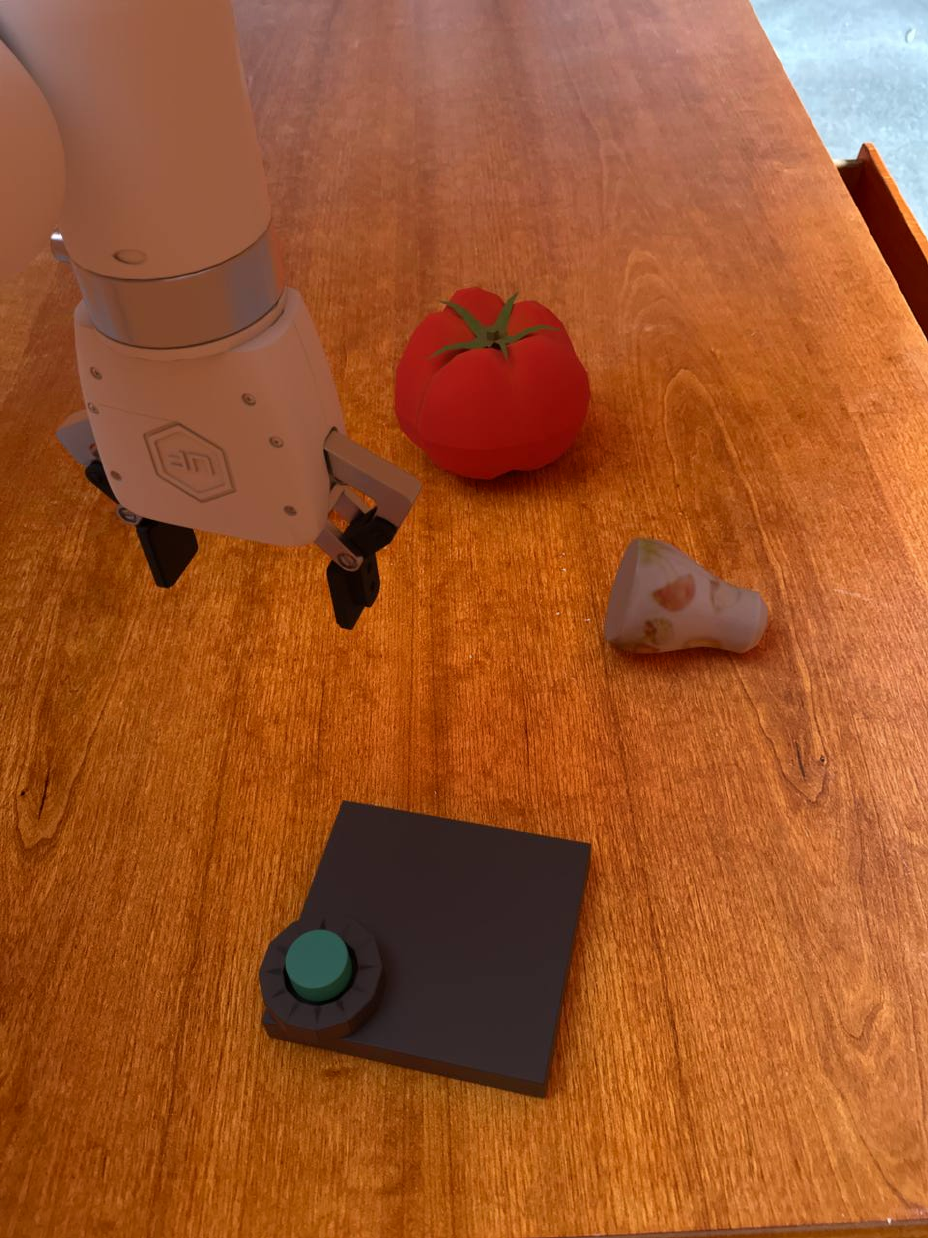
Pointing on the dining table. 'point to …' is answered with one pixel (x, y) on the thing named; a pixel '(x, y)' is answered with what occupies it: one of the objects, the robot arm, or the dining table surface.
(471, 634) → the dining table surface
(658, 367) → the dining table surface
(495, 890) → the scale
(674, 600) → the white floral vase
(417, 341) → the tomato
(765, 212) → the dining table surface
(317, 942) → the button
